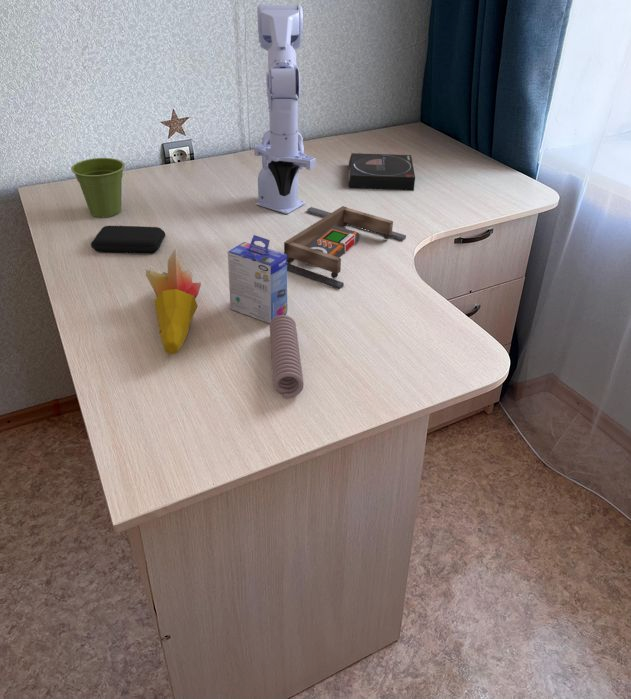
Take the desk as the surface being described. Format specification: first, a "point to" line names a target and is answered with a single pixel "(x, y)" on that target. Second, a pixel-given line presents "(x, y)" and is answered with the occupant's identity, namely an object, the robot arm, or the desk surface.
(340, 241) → the electronic device
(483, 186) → the desk surface
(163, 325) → the torch
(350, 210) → the dolly
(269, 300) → the ink cartridge box
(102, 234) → the carrying case or bag
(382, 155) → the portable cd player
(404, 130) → the desk surface
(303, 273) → the track
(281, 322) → the coil
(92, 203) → the plant pot
